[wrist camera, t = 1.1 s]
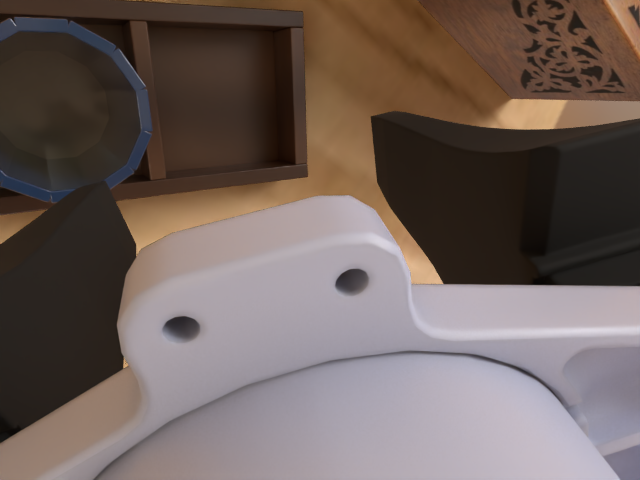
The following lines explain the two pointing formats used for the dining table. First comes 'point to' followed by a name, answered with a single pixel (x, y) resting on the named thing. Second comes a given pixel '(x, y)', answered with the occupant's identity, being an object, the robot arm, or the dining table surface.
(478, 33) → the tissue box cover
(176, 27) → the cup holder
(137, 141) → the cup
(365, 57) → the dining table surface
